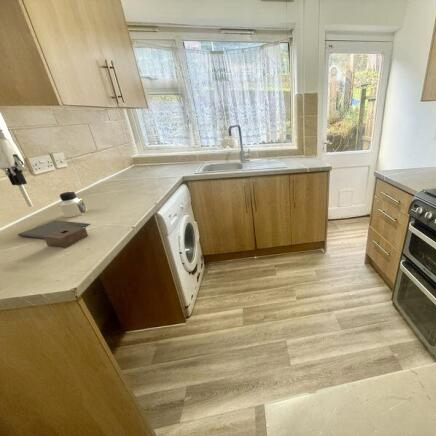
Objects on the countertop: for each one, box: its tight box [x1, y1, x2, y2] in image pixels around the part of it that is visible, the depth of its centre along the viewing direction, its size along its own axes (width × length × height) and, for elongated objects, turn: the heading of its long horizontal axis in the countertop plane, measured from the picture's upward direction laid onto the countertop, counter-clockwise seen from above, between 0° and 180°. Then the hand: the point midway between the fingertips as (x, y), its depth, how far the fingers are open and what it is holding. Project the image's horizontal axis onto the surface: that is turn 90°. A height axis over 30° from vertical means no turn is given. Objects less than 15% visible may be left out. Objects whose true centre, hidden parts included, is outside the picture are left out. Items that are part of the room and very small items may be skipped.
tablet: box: [17, 219, 91, 240], centre depth 110 cm, size 15×22×1 cm
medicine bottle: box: [59, 191, 88, 218], centre depth 125 cm, size 7×7×12 cm
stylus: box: [17, 184, 34, 208], centre depth 97 cm, size 1×1×15 cm
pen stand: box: [43, 226, 89, 249], centre depth 99 cm, size 9×9×4 cm
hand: (19, 184), depth 97 cm, fingers closed on stylus, 1 cm apart
